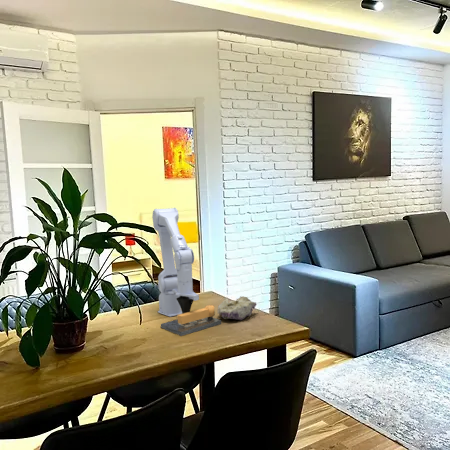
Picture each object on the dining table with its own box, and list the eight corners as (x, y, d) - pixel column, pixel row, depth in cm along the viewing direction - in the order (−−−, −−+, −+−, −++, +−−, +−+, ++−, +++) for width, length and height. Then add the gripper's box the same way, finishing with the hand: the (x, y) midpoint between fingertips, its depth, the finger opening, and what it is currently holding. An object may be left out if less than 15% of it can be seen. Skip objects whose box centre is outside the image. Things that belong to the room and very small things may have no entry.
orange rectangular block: (210, 313, 183) (210, 304, 183) (216, 315, 180) (216, 306, 180) (176, 322, 172) (176, 313, 172) (182, 324, 170) (182, 315, 169)
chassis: (160, 327, 175) (160, 322, 174) (200, 316, 187) (200, 311, 187) (181, 336, 165) (180, 330, 165) (221, 324, 177) (221, 318, 177)
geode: (215, 333, 182) (250, 330, 177) (207, 314, 179) (242, 310, 173) (226, 307, 197) (259, 304, 191) (219, 289, 193) (253, 285, 187)
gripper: (165, 279, 179) (166, 313, 181) (187, 285, 169) (189, 321, 170) (180, 276, 184) (181, 309, 185) (202, 282, 173) (204, 317, 175)
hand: (186, 315), depth 178 cm, fingers closed
